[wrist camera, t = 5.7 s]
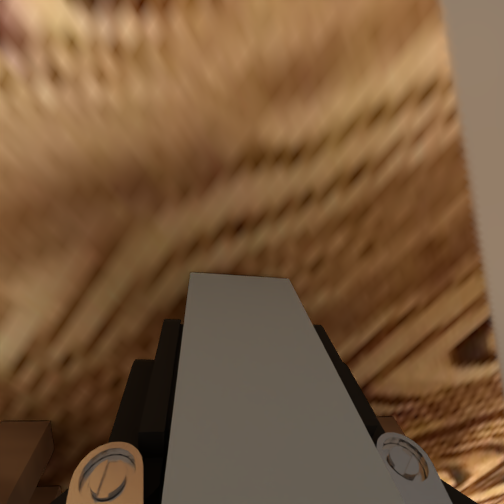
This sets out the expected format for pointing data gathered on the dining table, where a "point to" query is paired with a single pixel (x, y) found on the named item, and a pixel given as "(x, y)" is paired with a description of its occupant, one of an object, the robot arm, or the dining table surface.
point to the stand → (38, 454)
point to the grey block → (263, 406)
